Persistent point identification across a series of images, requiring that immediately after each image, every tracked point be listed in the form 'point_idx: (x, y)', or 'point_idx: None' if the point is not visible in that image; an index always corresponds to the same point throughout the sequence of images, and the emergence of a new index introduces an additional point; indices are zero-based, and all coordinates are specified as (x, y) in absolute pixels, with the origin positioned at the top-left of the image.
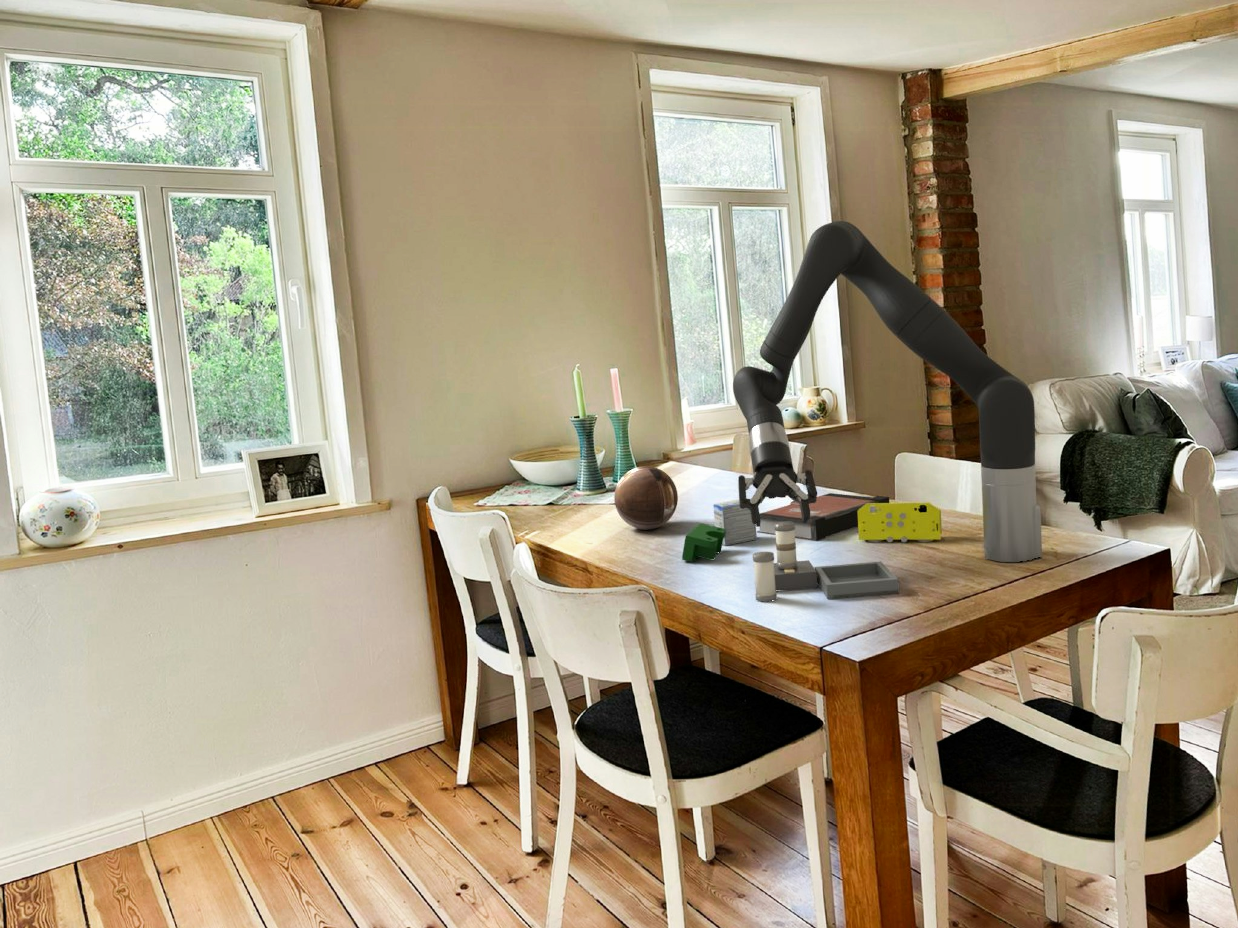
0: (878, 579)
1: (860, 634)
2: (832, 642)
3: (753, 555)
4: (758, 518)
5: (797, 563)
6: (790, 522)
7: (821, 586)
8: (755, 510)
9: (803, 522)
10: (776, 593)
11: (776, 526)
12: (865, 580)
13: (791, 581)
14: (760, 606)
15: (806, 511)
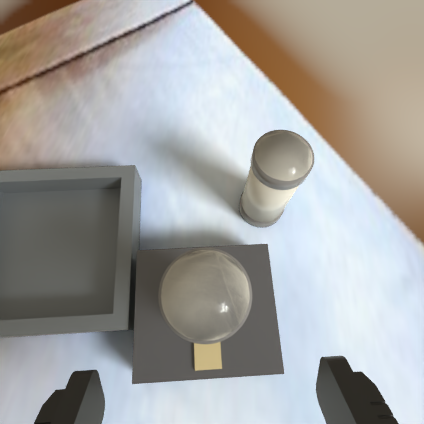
0: (17, 178)
1: (133, 28)
2: (175, 11)
3: (310, 148)
4: (337, 365)
5: (171, 352)
6: (175, 309)
7: (137, 239)
8: (376, 417)
9: (103, 395)
10: (240, 200)
11: (242, 267)
12: (46, 177)
13: None
14: None
15: (61, 400)
